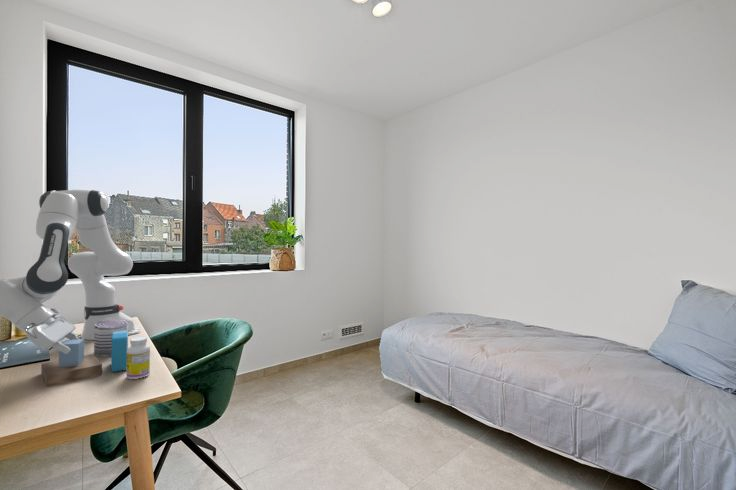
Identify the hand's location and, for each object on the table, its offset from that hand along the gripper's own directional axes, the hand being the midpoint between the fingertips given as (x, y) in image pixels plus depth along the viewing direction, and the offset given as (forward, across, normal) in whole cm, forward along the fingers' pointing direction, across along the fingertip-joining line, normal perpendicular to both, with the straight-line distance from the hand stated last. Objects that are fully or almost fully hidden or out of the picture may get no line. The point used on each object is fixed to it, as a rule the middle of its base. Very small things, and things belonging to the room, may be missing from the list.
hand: (74, 347), depth 120 cm
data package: (+15, +2, -2) cm, 16 cm away
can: (+11, +22, +2) cm, 25 cm away
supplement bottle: (+21, -10, -8) cm, 24 cm away
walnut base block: (+6, 0, +7) cm, 10 cm away
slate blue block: (+3, 0, +4) cm, 6 cm away
